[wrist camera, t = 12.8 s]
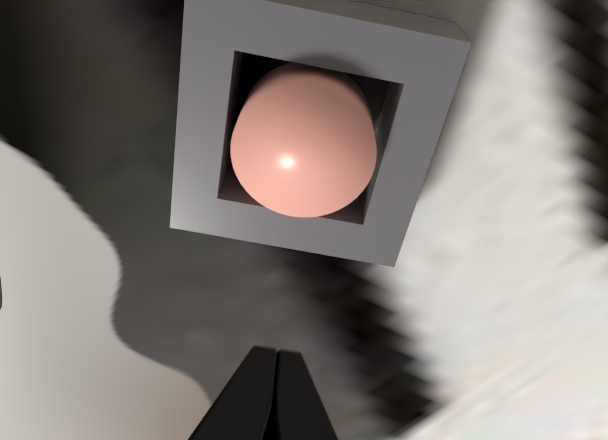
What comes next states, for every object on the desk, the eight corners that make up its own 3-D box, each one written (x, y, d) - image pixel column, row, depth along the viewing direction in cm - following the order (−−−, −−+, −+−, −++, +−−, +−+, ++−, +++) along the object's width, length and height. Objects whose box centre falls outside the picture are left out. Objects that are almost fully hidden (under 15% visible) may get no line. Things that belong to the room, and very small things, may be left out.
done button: (387, 76, 17) (393, 100, 16) (355, 194, 20) (357, 228, 18) (249, 48, 17) (239, 70, 15) (233, 172, 20) (223, 203, 18)
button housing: (454, 21, 17) (471, 42, 15) (388, 228, 22) (394, 267, 20) (203, -31, 17) (185, -16, 15) (186, 191, 21) (169, 227, 19)
